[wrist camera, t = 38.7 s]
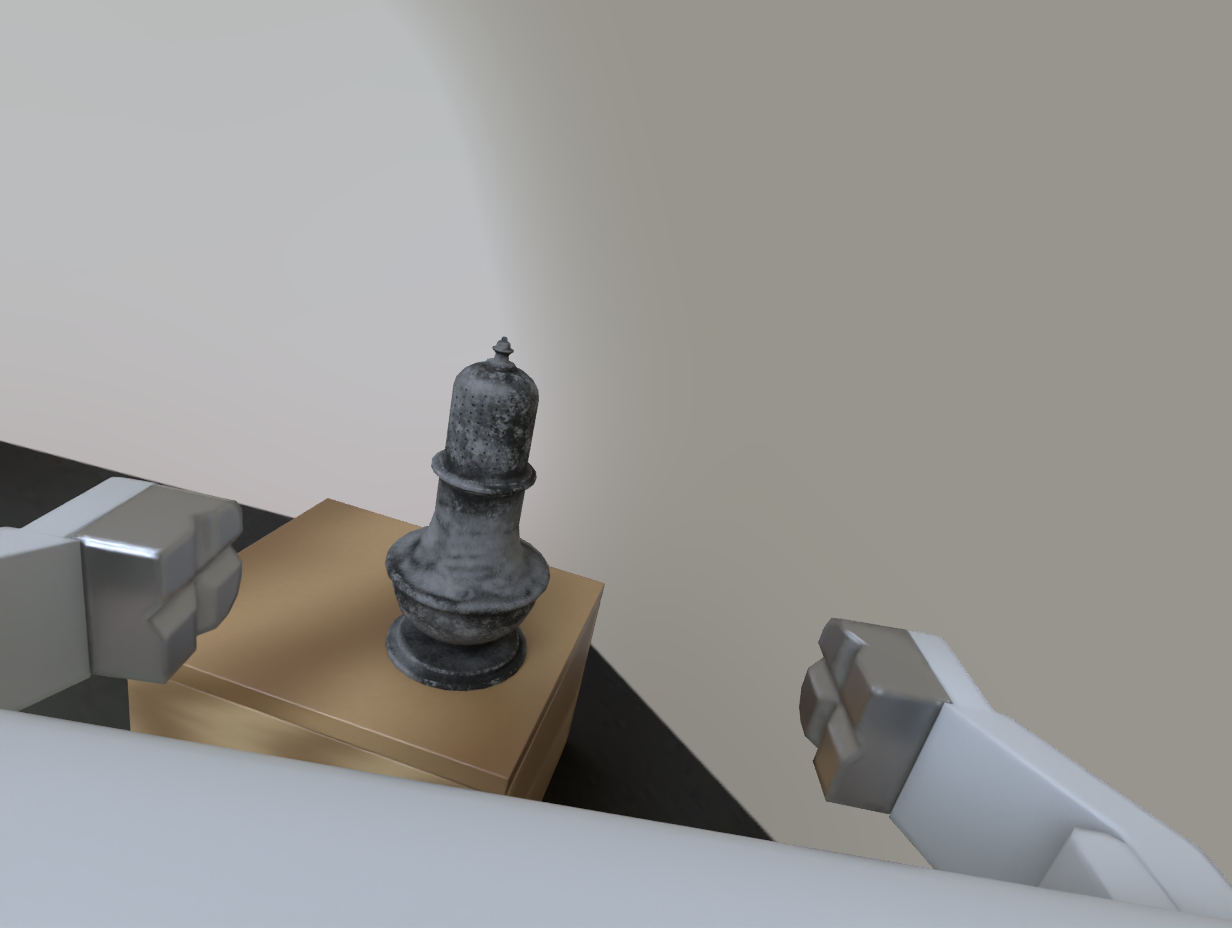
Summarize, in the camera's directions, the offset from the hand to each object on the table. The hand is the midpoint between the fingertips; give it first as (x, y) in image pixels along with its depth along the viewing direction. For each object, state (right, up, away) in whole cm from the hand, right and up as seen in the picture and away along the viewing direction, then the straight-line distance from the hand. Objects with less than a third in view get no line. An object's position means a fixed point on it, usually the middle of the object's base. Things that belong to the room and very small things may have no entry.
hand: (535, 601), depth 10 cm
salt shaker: (-5, -5, +17) cm, 19 cm away
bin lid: (-8, -4, +19) cm, 21 cm away
